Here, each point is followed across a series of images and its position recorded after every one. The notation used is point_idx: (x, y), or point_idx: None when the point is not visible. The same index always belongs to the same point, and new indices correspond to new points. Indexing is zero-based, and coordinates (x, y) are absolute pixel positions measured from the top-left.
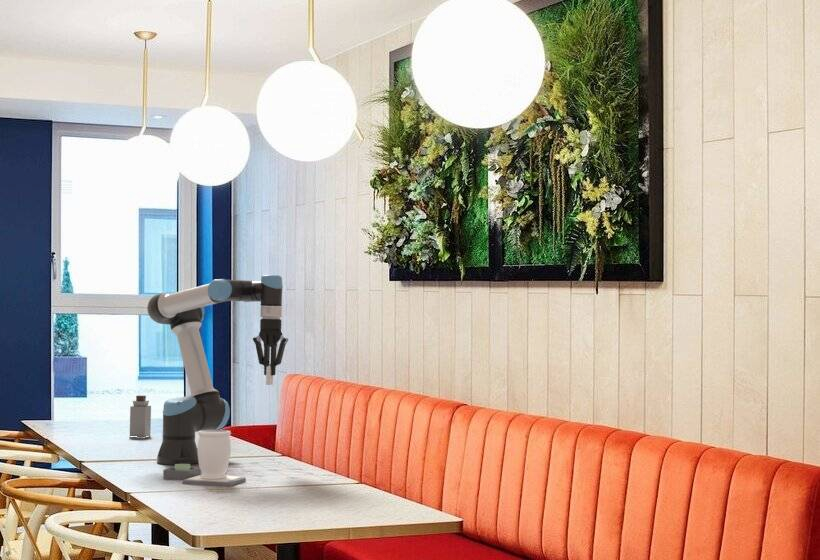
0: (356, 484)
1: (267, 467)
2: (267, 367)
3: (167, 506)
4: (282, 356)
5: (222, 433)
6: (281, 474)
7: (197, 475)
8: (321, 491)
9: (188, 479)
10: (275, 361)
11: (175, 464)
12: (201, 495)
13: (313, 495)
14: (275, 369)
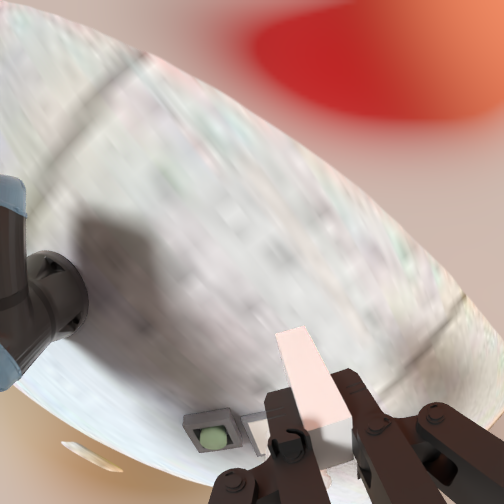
0: (468, 304)
1: (246, 235)
2: (323, 462)
3: (334, 500)
4: (501, 442)
5: (326, 489)
6: (335, 302)
7: (232, 418)
8: (443, 376)
9: (263, 453)
10: (406, 455)
11: (202, 445)
12: (331, 471)
13: (440, 398)
14: (372, 398)
